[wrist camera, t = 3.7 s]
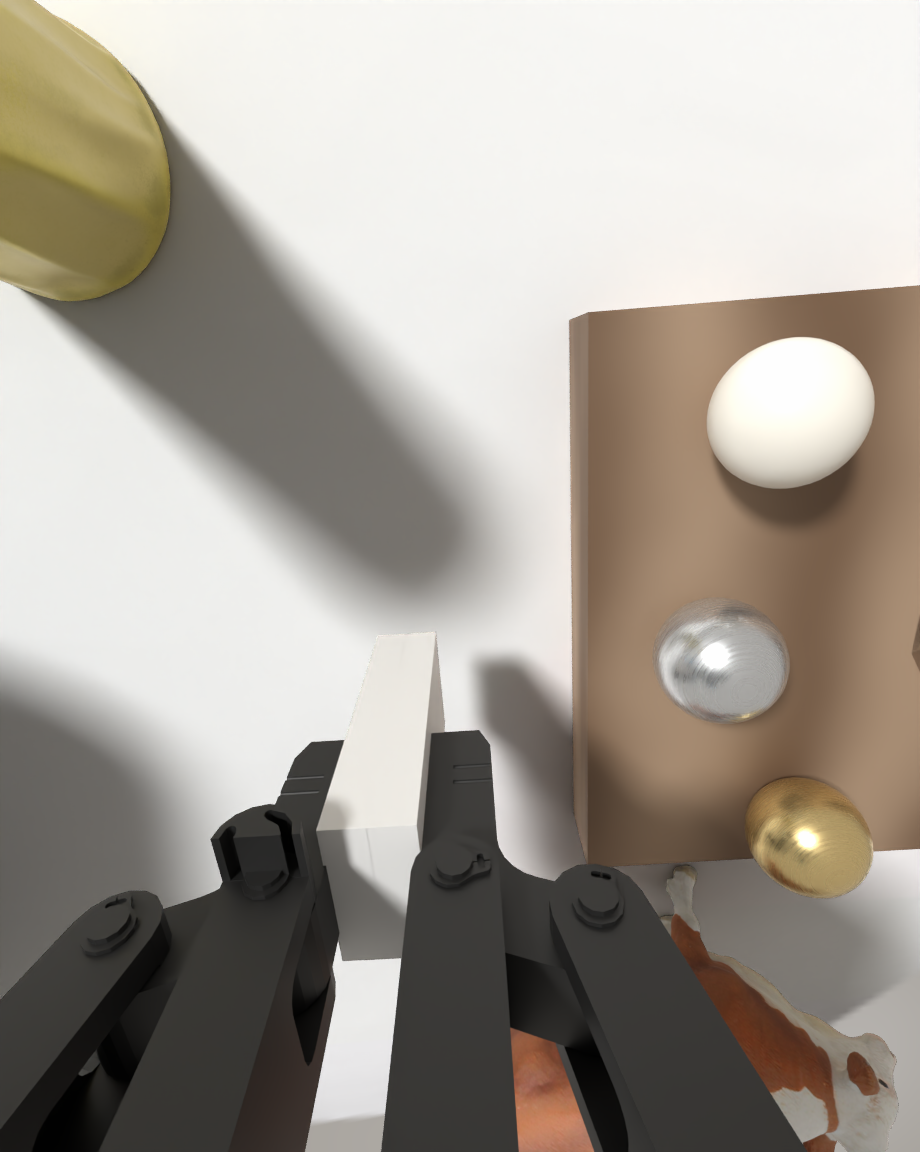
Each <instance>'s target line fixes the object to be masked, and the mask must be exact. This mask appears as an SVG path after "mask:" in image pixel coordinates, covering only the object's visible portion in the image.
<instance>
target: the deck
mask: <svg viewBox="0 0 920 1152" xmlns="http://www.w3.org/2000/svg"><path fill="white" fill-rule="evenodd" d="M792 337H811V338H819V339H822V340H826V341H829V342H832V343H835V344H837V345H839V346H841V347H843V348H844V349H846V350H847V351H848V352H850V353H851V354H853V355H854V356H855V357H856V358H857V359H858V360H859V361H860V363H861V364H862V365H863V367H864V368H865V370H866V371H867V373H868V375H869V377H870V380H871V383H872V386H873V390H874V400H875V406H874V415H873V420H872V424H871V426H870V429H869V432H868V434H867V436H866V438H865V440H864V441H863V443H862V445H861V446H860V448H859V449H858V450H857V451H856V453H855V454H854V455H853V456H852V457H851V458H850V459H849V460H848V461H847V462H846V463H845V464H844V465H843V466H842V467H840V468H839V469H838V470H836V471H835V472H833V473H832V474H830V475H828V476H826V477H824V478H822V479H821V480H819V481H816V482H813V483H811V484H807V485H803V486H799V487H794V488H787V489H772V488H764V487H760V486H757V485H753V484H750V483H747V482H745V481H743V480H741V479H739V478H738V477H736V476H735V475H733V474H732V473H730V472H729V471H728V470H727V469H726V468H725V467H724V466H723V465H722V464H721V462H720V461H719V460H718V459H717V457H716V455H715V454H714V452H713V450H712V447H711V445H710V442H709V438H708V433H707V412H708V407H709V403H710V400H711V397H712V395H713V392H714V390H715V388H716V386H717V385H718V383H719V381H720V380H721V379H722V377H723V376H724V375H725V373H726V372H727V371H728V370H729V369H730V368H731V367H732V366H733V365H734V364H735V363H736V362H737V361H738V360H739V359H741V358H742V357H743V356H745V355H746V354H747V353H749V352H751V351H753V350H754V349H756V348H758V347H760V346H762V345H765V344H767V343H770V342H773V341H777V340H780V339H785V338H792ZM569 342H570V457H571V572H572V687H573V802H574V817H575V821H576V825H577V829H578V833H579V837H580V840H581V844H582V848H583V852H584V856H585V860H586V864H598V865H603V866H607V867H612V866H630V865H647V864H664V863H682V862H699V861H716V860H734V859H751V858H754V857H753V855H752V853H751V851H750V849H749V846H748V843H747V840H746V835H745V815H746V811H747V808H748V805H749V803H750V802H751V800H752V798H753V797H754V795H755V794H756V793H757V792H758V791H759V790H760V789H761V788H763V787H764V786H766V785H767V784H769V783H771V782H773V781H776V780H779V779H783V778H792V777H800V778H807V779H812V780H816V781H819V782H821V783H824V784H826V785H828V786H830V787H832V788H834V789H836V790H837V791H839V792H840V793H841V794H843V795H844V796H845V797H847V798H848V799H849V800H850V801H851V802H852V803H853V804H854V805H855V806H856V808H857V809H858V810H859V811H860V813H861V814H862V816H863V817H864V819H865V821H866V823H867V825H868V827H869V830H870V833H871V837H872V842H873V851H890V850H907V849H920V285H919V286H906V287H894V288H882V289H870V290H857V291H845V292H833V293H820V294H808V295H796V296H784V297H771V298H759V299H747V300H734V301H722V302H710V303H698V304H685V305H673V306H661V307H648V308H636V309H624V310H612V311H599V312H588V313H586V314H583V315H581V316H578V317H576V318H573V319H571V320H569ZM712 597H721V598H730V599H735V600H739V601H741V602H744V603H747V604H749V605H751V606H753V607H755V608H757V609H758V610H760V611H761V612H763V613H764V614H765V615H766V616H768V617H769V618H770V620H771V621H772V622H773V623H774V624H775V625H776V626H777V628H778V629H779V631H780V632H781V634H782V635H783V637H784V640H785V642H786V645H787V648H788V652H789V659H790V672H789V676H788V681H787V684H786V686H785V689H784V691H783V693H782V694H781V696H780V697H779V699H778V700H777V701H776V702H775V703H774V704H773V705H772V706H771V707H770V708H769V709H768V710H767V711H765V712H764V713H762V714H761V715H759V716H757V717H755V718H753V719H750V720H747V721H744V722H740V723H734V724H717V723H711V722H706V721H703V720H700V719H697V718H695V717H693V716H691V715H689V714H687V713H685V712H684V711H682V710H681V709H679V708H678V707H677V706H676V705H675V704H674V703H673V702H671V701H670V700H669V698H668V697H667V696H666V694H665V693H664V692H663V690H662V689H661V687H660V685H659V683H658V681H657V678H656V675H655V672H654V667H653V646H654V642H655V639H656V636H657V634H658V632H659V630H660V628H661V626H662V625H663V623H664V622H665V621H666V619H667V618H668V617H669V616H670V615H671V614H672V613H674V612H675V611H676V610H678V609H679V608H681V607H682V606H684V605H686V604H688V603H690V602H693V601H696V600H700V599H705V598H712Z"/></svg>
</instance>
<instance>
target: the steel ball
mask: <svg viewBox="0 0 920 1152" xmlns="http://www.w3.org/2000/svg"><path fill="white" fill-rule="evenodd" d="M653 667H654V672H655V675H656V678H657V681H658V683H659V685H660V687H661V689H662V690H663V692H664V693H665V694H666V696H667V697H668V698H669V700H670V701H671V702H673V703H674V704H675V705H676V706H677V707H678V708H679V709H681V710H682V711H684V712H685V713H687V714H689V715H691V716H693V717H695V718H697V719H700V720H703V721H706V722H711V723H717V724H734V723H740V722H744V721H747V720H750V719H753V718H755V717H757V716H759V715H761V714H762V713H764V712H765V711H767V710H768V709H769V708H770V707H771V706H772V705H773V704H774V703H775V702H776V701H777V700H778V699H779V697H780V696H781V694H782V693H783V691H784V689H785V686H786V684H787V681H788V676H789V672H790V659H789V652H788V648H787V645H786V642H785V640H784V637H783V635H782V634H781V632H780V631H779V629H778V628H777V626H776V625H775V624H774V623H773V622H772V621H771V620H770V618H769V617H768V616H766V615H765V614H764V613H763V612H761V611H760V610H758V609H757V608H755V607H753V606H751V605H749V604H747V603H744V602H741V601H739V600H735V599H730V598H721V597H712V598H705V599H700V600H696V601H693V602H690V603H688V604H686V605H684V606H682V607H681V608H679V609H678V610H676V611H675V612H674V613H672V614H671V615H670V616H669V617H668V618H667V619H666V621H665V622H664V623H663V625H662V626H661V628H660V630H659V632H658V634H657V636H656V639H655V642H654V646H653Z"/></svg>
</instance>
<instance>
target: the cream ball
mask: <svg viewBox="0 0 920 1152" xmlns="http://www.w3.org/2000/svg"><path fill="white" fill-rule="evenodd" d="M874 406H875V400H874V390H873V386H872V383H871V380H870V377H869V375H868V373H867V371H866V370H865V368H864V367H863V365H862V364H861V363H860V361H859V360H858V359H857V358H856V357H855V356H854V355H853V354H851V353H850V352H848V351H847V350H846V349H844V348H843V347H841V346H839V345H837V344H835V343H832V342H829V341H826V340H822V339H819V338H811V337H792V338H785V339H780V340H777V341H773V342H770V343H767V344H765V345H762V346H760V347H758V348H756V349H754V350H753V351H751V352H749V353H747V354H746V355H745V356H743V357H742V358H741V359H739V360H738V361H737V362H736V363H735V364H734V365H733V366H732V367H731V368H730V369H729V370H728V371H727V372H726V373H725V375H724V376H723V377H722V379H721V380H720V381H719V383H718V385H717V386H716V388H715V390H714V392H713V395H712V397H711V400H710V403H709V407H708V412H707V433H708V438H709V442H710V445H711V447H712V450H713V452H714V454H715V455H716V457H717V459H718V460H719V461H720V462H721V464H722V465H723V466H724V467H725V468H726V469H727V470H728V471H729V472H730V473H732V474H733V475H735V476H736V477H738V478H739V479H741V480H743V481H745V482H747V483H750V484H753V485H757V486H760V487H764V488H772V489H787V488H794V487H799V486H803V485H807V484H811V483H813V482H816V481H819V480H821V479H822V478H824V477H826V476H828V475H830V474H832V473H833V472H835V471H836V470H838V469H839V468H840V467H842V466H843V465H844V464H845V463H846V462H847V461H848V460H849V459H850V458H851V457H852V456H853V455H854V454H855V453H856V451H857V450H858V449H859V448H860V446H861V445H862V443H863V441H864V440H865V438H866V436H867V434H868V432H869V429H870V426H871V424H872V420H873V415H874Z"/></svg>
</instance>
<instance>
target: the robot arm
mask: <svg viewBox="0 0 920 1152" xmlns="http://www.w3.org/2000/svg"><path fill="white" fill-rule="evenodd" d="M444 729H445V720H444V709H443V699H442V689H441V679H440V669H439V659H438V649H437V638H436V632H423V633H408V634H392V635H377V638H376V641H375V645H374V648H373V651H372V654H371V657H370V661H369V664H368V667H367V670H366V673H365V677H364V680H363V683H362V686H361V689H360V692H359V696H358V699H357V702H356V705H355V708H354V712H353V715H352V718H351V721H350V724H349V728H348V731H347V734H346V737H345V740H338V741H322V742H311V743H310V744H309V745H308V746H307V747H306V748H305V749H304V750H303V751H302V752H301V753H300V754H299V755H298V756H297V757H296V758H295V759H294V762H293V764H292V766H291V769H290V771H289V773H288V776H287V781H285V783H284V785H283V788H282V790H281V795H280V796H279V797H278V799H277V802H276V804H275V805H273V804H268V805H262V806H257V807H252V808H250V809H248V810H245V811H243V812H241V813H239V814H236V815H235V816H233V817H232V818H231V819H229V820H228V821H227V822H225V823H224V824H223V825H221V826H220V828H219V829H218V830H217V831H216V833H215V834H214V835H213V837H212V838H211V842H212V846H213V849H214V853H215V856H216V860H217V863H218V867H219V870H220V874H221V877H222V881H223V882H222V884H221V887H220V889H218V890H216V891H215V892H212V893H210V894H207V895H205V896H202V897H200V898H197V899H194V900H190V901H187V902H184V903H181V904H178V905H175V906H172V907H169V908H166V909H163V907H162V905H161V903H160V901H159V899H158V897H157V896H156V895H154V894H151V893H149V892H147V891H128V892H125V893H121V894H118V895H115V896H112V897H109V898H107V899H106V900H104V901H102V902H100V903H99V904H97V905H95V906H93V907H91V908H90V909H89V910H88V911H87V912H85V913H84V914H83V915H82V916H81V917H80V918H78V919H77V920H76V921H75V922H74V923H73V924H72V925H71V926H70V927H69V928H68V929H67V930H66V931H65V932H64V933H63V934H62V935H61V936H60V937H59V939H58V940H57V941H56V942H55V943H54V944H53V945H52V946H51V947H50V948H49V949H48V950H47V951H46V952H45V953H44V954H43V955H42V957H41V958H40V959H39V960H38V961H37V962H36V963H35V964H34V965H33V966H32V967H31V968H30V969H29V970H28V971H27V972H26V973H25V975H24V976H23V977H22V978H21V979H20V980H19V981H18V982H17V983H16V984H15V985H14V986H13V987H12V988H11V989H10V990H9V991H8V993H7V994H6V995H5V996H4V997H3V998H2V999H1V1000H0V1152H305V1148H306V1143H307V1138H308V1133H309V1128H310V1123H311V1118H312V1113H313V1108H314V1103H315V1098H316V1093H317V1088H318V1083H319V1078H320V1073H321V1067H322V1062H323V1057H324V1052H325V1047H326V1042H327V1037H328V1032H329V1027H330V1022H331V1017H332V1012H333V1007H334V1002H335V978H334V973H333V968H332V966H333V961H334V956H335V952H336V947H337V943H338V941H339V946H340V951H341V956H342V960H343V961H353V960H374V959H394V958H402V959H401V969H400V978H399V988H398V997H397V1007H396V1016H395V1026H394V1035H393V1045H392V1054H391V1064H390V1073H389V1083H388V1092H387V1102H386V1111H385V1121H384V1131H383V1140H382V1150H381V1152H519V1146H518V1132H517V1118H516V1103H515V1089H514V1074H513V1060H512V1046H511V1031H510V1028H513V1029H516V1030H519V1031H522V1032H525V1033H528V1034H531V1035H534V1036H537V1037H540V1038H542V1039H545V1040H548V1041H551V1042H554V1043H556V1046H557V1049H558V1052H559V1055H560V1058H561V1060H562V1063H563V1066H564V1069H565V1071H566V1074H567V1077H568V1080H569V1083H570V1085H571V1088H572V1091H573V1094H574V1096H575V1099H576V1102H577V1105H578V1108H579V1110H580V1113H581V1116H582V1119H583V1121H584V1124H585V1127H586V1130H587V1133H588V1135H589V1138H590V1141H591V1144H592V1147H593V1149H594V1152H807V1150H806V1148H805V1147H804V1145H803V1144H802V1142H801V1141H800V1139H799V1137H798V1136H797V1134H796V1133H795V1131H794V1130H793V1128H792V1126H791V1125H790V1123H789V1122H788V1120H787V1118H786V1117H785V1115H784V1114H783V1112H782V1111H781V1109H780V1107H779V1106H778V1104H777V1103H776V1101H775V1100H774V1098H773V1096H772V1095H771V1093H770V1092H769V1090H768V1089H767V1087H766V1085H765V1084H764V1082H763V1081H762V1079H761V1078H760V1076H759V1074H758V1073H757V1071H756V1070H755V1068H754V1066H753V1065H752V1063H751V1062H750V1060H749V1059H748V1057H747V1055H746V1054H745V1052H744V1051H743V1049H742V1048H741V1046H740V1044H739V1043H738V1041H737V1040H736V1038H735V1037H734V1035H733V1033H732V1032H731V1030H730V1029H729V1027H728V1026H727V1024H726V1022H725V1021H724V1019H723V1018H722V1016H721V1014H720V1013H719V1011H718V1010H717V1008H716V1007H715V1005H714V1003H713V1002H712V1000H711V999H710V997H709V996H708V994H707V992H706V991H705V989H704V988H703V986H702V985H701V983H700V981H699V980H698V978H697V977H696V975H695V974H694V972H693V970H692V969H691V967H690V966H689V964H688V962H687V961H686V959H685V958H684V956H683V955H682V953H681V951H680V950H679V948H678V947H677V945H676V944H675V942H674V940H673V939H672V937H671V936H670V934H669V933H668V931H667V929H666V928H665V926H664V925H663V923H662V922H661V920H660V918H659V917H658V915H657V914H656V912H655V910H654V909H653V907H652V906H651V904H650V903H649V901H648V899H647V898H646V896H645V895H644V893H643V892H642V890H641V889H640V888H639V887H638V886H637V885H636V884H635V883H634V881H633V880H632V879H631V878H630V877H628V876H627V875H625V874H623V873H621V872H620V871H618V870H616V869H614V868H612V867H607V866H603V865H598V864H587V865H577V866H575V867H573V868H571V869H569V870H567V871H565V872H563V873H562V874H561V875H560V876H559V877H558V879H557V880H556V881H551V880H547V879H542V878H538V877H535V876H532V875H529V874H526V873H524V872H522V871H520V870H519V869H517V868H516V867H514V866H513V865H512V864H511V863H510V862H509V861H508V860H507V859H506V858H505V857H504V856H503V854H502V852H501V850H500V849H499V845H498V841H497V833H496V820H495V806H494V792H493V778H492V765H491V751H490V744H489V743H488V742H487V740H486V739H485V738H484V736H483V735H482V734H481V732H480V731H479V730H475V731H458V732H444Z"/></svg>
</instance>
